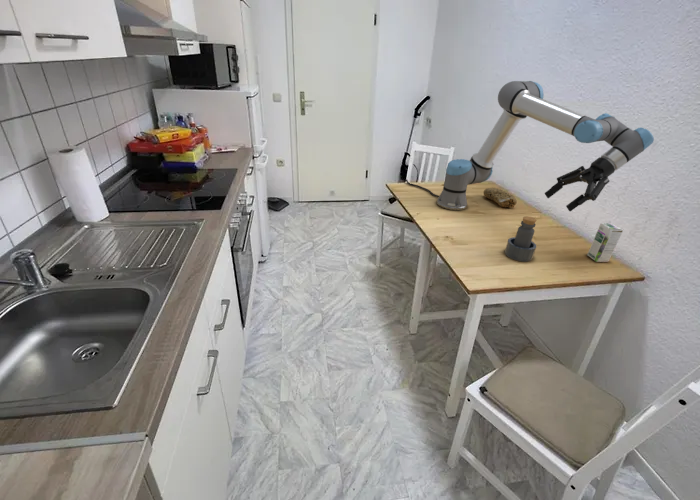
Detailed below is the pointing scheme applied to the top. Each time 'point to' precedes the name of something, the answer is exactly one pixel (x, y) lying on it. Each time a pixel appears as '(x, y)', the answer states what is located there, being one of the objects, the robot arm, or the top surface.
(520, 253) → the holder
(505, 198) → the bread loaf
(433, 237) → the top surface
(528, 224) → the bottle
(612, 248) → the syrup box
